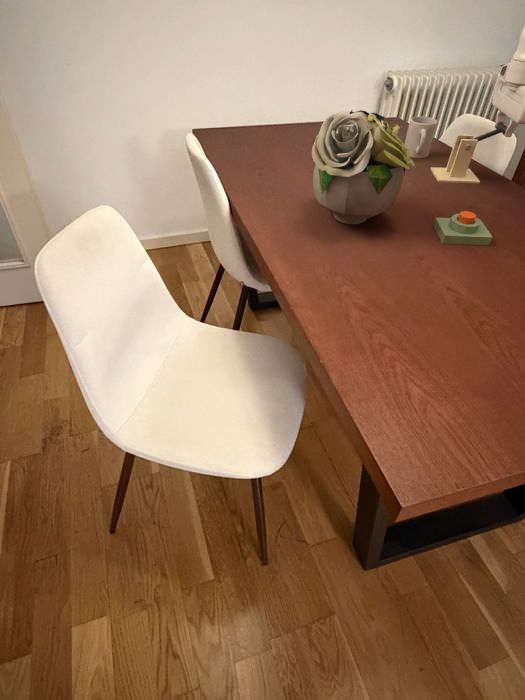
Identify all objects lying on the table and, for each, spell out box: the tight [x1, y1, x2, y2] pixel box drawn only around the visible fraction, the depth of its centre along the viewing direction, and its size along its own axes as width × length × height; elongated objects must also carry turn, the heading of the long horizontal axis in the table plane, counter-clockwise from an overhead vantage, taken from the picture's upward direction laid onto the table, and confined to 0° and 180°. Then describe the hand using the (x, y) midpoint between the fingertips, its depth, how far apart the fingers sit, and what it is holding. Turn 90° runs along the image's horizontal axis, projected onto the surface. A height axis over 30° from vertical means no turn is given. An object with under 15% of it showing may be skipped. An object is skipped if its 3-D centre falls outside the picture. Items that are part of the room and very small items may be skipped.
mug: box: [404, 116, 438, 159], centre depth 131 cm, size 12×8×11 cm
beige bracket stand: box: [430, 134, 481, 185], centre depth 118 cm, size 12×10×12 cm
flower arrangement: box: [311, 109, 416, 225], centre depth 95 cm, size 25×25×24 cm
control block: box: [432, 213, 493, 246], centre depth 97 cm, size 11×9×4 cm
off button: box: [458, 210, 477, 224], centre depth 95 cm, size 4×4×2 cm
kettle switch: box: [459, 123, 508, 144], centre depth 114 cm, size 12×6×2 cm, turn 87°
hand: (502, 132), depth 113 cm, fingers closed on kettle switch, 5 cm apart
